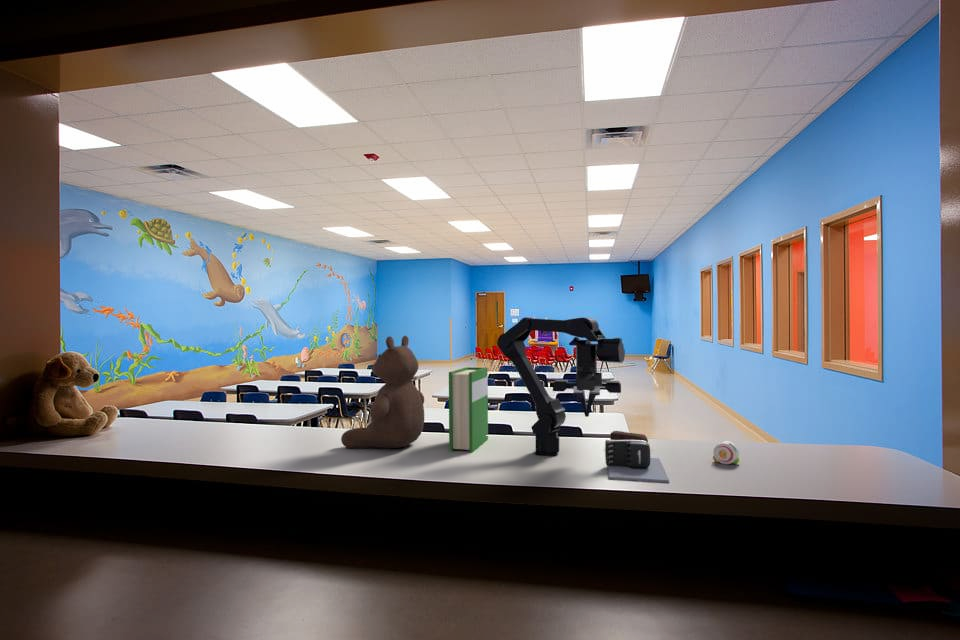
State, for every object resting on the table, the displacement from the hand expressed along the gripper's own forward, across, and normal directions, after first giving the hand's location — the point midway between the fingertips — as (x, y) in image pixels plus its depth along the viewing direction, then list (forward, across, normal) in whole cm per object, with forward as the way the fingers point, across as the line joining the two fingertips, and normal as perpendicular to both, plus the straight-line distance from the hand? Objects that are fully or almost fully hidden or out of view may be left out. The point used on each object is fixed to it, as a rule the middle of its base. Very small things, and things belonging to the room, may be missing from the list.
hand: (586, 416), depth 142 cm
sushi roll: (+12, +37, +4) cm, 39 cm away
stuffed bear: (+12, -63, +3) cm, 65 cm away
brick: (+12, +12, +15) cm, 23 cm away
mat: (+12, +13, -8) cm, 19 cm away
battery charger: (+8, +5, -9) cm, 13 cm away
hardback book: (+12, -37, +9) cm, 40 cm away
